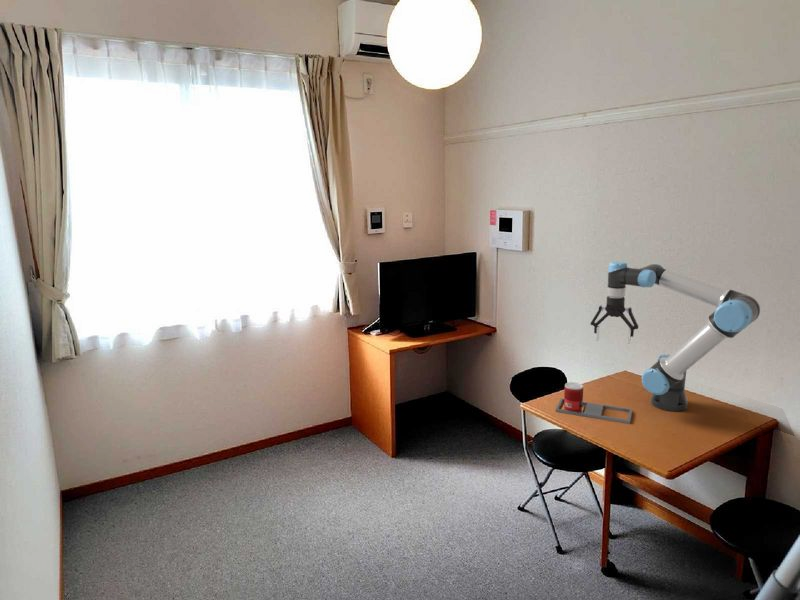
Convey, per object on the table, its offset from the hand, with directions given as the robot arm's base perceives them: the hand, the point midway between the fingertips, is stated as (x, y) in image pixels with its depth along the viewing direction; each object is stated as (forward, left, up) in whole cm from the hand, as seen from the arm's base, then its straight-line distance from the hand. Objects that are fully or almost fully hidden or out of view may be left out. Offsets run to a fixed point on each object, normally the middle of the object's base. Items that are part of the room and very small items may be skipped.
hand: (613, 341), depth 251 cm
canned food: (+14, +16, -29) cm, 36 cm away
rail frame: (+5, +16, -29) cm, 33 cm away
